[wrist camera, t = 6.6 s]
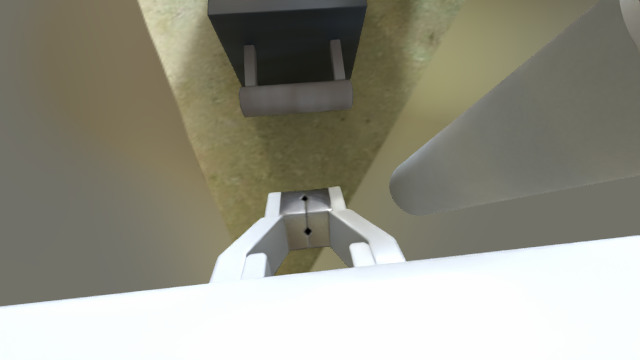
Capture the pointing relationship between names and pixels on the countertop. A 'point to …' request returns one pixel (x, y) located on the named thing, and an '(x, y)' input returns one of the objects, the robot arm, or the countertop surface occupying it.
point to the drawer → (290, 52)
